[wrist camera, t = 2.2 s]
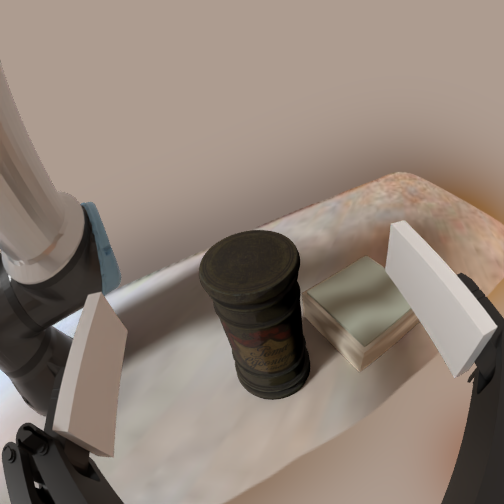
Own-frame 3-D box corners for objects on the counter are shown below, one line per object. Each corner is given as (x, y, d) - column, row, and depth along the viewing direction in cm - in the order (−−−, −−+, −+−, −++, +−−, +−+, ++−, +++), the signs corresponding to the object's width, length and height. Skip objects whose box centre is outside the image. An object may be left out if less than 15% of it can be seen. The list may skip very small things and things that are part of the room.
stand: (303, 315, 40) (301, 291, 37) (363, 277, 44) (366, 252, 41) (359, 372, 31) (364, 350, 28) (420, 320, 35) (428, 296, 32)
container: (229, 356, 37) (185, 247, 26) (291, 331, 39) (275, 216, 28) (252, 412, 30) (206, 315, 19) (322, 381, 32) (323, 269, 21)
